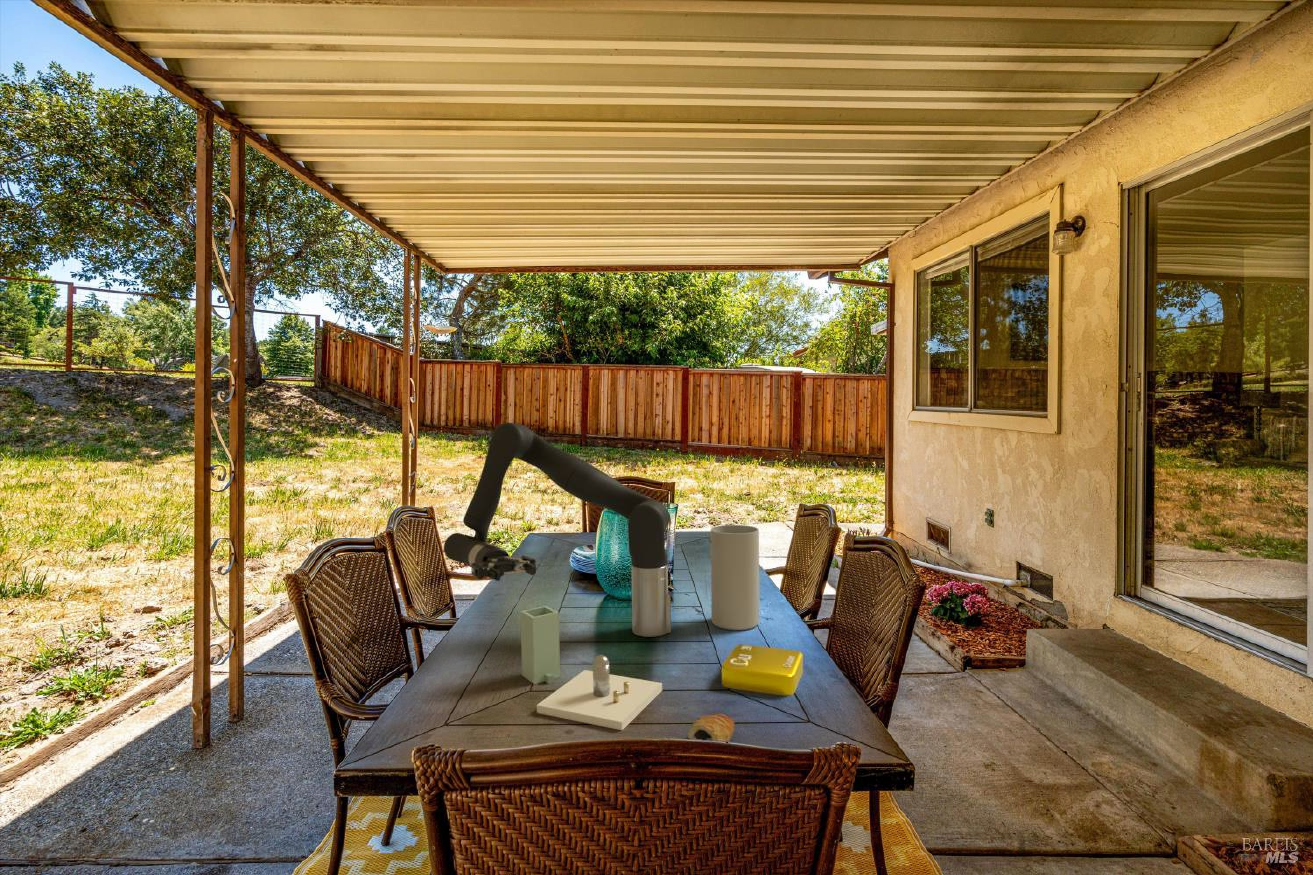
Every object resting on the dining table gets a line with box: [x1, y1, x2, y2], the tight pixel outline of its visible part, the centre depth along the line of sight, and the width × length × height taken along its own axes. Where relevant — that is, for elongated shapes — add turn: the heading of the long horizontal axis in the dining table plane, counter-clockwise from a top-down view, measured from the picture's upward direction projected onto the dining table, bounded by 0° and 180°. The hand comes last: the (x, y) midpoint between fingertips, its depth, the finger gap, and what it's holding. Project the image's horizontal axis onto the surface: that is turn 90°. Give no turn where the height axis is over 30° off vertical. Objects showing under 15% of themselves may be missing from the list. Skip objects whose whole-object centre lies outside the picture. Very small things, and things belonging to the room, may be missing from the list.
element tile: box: [721, 644, 804, 697], centre depth 141 cm, size 15×15×5 cm
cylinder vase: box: [710, 524, 760, 631], centre depth 176 cm, size 12×12×25 cm
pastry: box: [687, 713, 736, 742], centre depth 117 cm, size 9×7×4 cm
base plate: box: [536, 654, 663, 731], centre depth 131 cm, size 18×18×9 cm
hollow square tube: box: [520, 605, 561, 685], centre depth 142 cm, size 8×6×14 cm
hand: (516, 573), depth 151 cm, fingers open, 8 cm apart
